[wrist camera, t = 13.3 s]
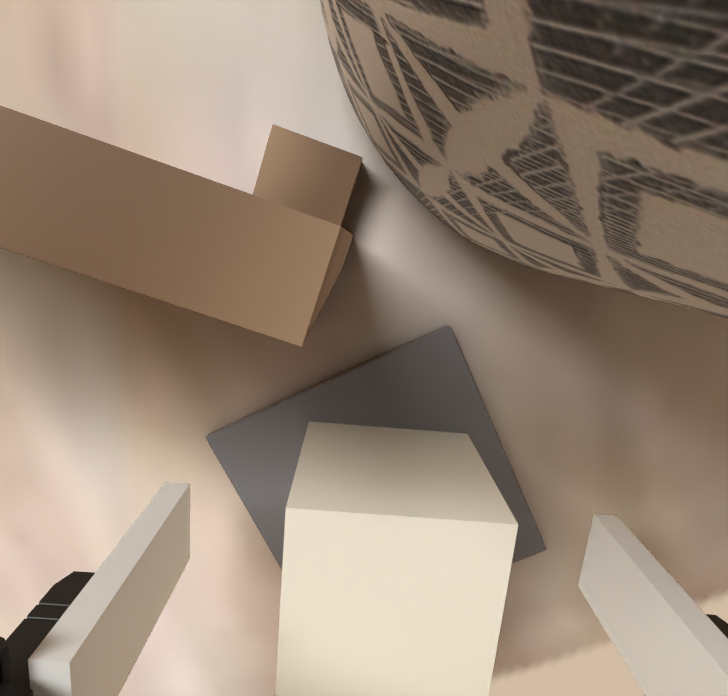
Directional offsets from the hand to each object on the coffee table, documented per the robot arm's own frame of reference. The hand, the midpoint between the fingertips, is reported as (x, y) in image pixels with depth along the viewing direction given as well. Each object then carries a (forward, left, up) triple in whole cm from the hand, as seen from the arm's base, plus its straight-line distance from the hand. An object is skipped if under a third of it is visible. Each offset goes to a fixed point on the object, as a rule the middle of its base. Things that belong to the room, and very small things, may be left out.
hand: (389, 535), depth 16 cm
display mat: (0, 0, -4) cm, 4 cm away
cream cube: (0, 0, -3) cm, 3 cm away
